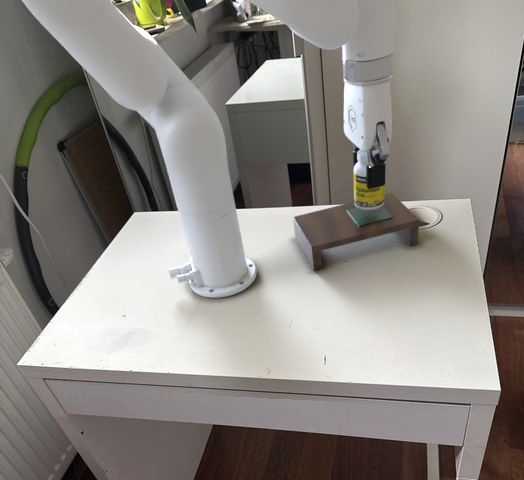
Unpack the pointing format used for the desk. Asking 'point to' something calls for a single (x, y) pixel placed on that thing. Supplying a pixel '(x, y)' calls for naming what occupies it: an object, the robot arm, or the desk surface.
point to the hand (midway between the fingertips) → (368, 178)
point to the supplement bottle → (362, 194)
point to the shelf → (352, 226)
